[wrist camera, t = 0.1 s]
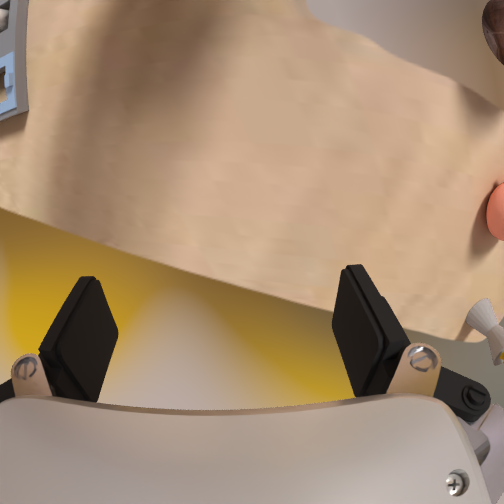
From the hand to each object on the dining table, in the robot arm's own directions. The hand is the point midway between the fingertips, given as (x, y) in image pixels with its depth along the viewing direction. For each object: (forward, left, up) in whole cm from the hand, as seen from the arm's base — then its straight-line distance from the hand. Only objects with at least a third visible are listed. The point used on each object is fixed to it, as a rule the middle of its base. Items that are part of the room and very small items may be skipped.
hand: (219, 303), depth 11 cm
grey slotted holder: (-22, -35, -31) cm, 51 cm away
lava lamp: (+37, +60, -31) cm, 77 cm away
